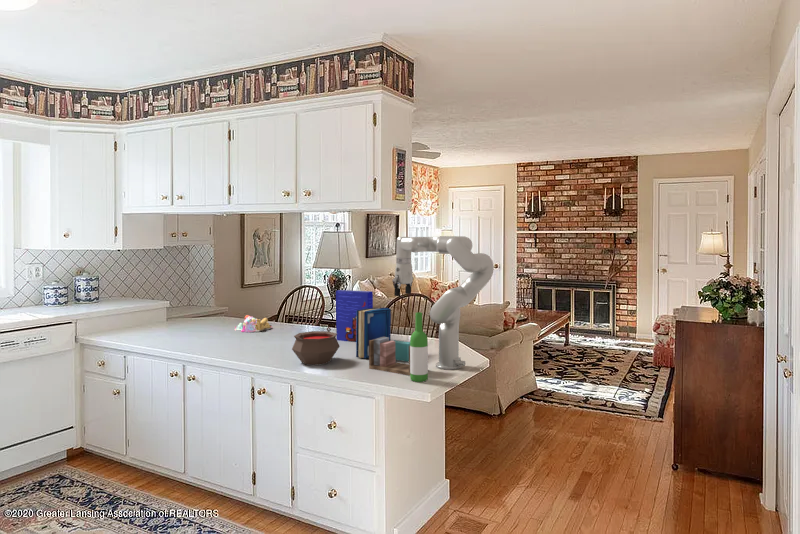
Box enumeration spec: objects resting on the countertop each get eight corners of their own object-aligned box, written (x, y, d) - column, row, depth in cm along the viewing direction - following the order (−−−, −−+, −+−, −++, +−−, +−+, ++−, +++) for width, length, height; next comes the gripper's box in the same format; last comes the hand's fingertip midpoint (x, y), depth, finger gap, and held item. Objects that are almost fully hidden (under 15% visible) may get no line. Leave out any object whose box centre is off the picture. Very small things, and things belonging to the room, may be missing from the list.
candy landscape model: (277, 327, 386) (277, 313, 386) (261, 333, 363) (261, 319, 363) (244, 326, 392) (244, 312, 392) (226, 332, 369) (226, 318, 369)
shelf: (425, 370, 266) (424, 341, 265) (411, 375, 257) (410, 345, 256) (384, 363, 280) (383, 335, 279) (369, 368, 270) (368, 339, 269)
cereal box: (373, 341, 335) (372, 291, 332) (368, 343, 329) (367, 292, 327) (341, 338, 344) (341, 289, 342) (336, 340, 339) (335, 290, 337)
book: (382, 350, 309) (382, 305, 307) (392, 352, 304) (392, 306, 303) (355, 358, 292) (354, 310, 290) (365, 359, 288) (364, 311, 286)
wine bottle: (429, 378, 252) (429, 311, 250) (426, 383, 244) (426, 314, 242) (412, 377, 253) (411, 311, 251) (408, 382, 246) (408, 313, 244)
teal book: (412, 360, 287) (412, 342, 287) (407, 361, 284) (407, 344, 283) (394, 357, 294) (394, 340, 293) (389, 358, 290) (389, 341, 289)
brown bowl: (312, 354, 301) (312, 324, 300) (349, 359, 289) (349, 327, 288) (281, 363, 281) (281, 331, 279) (320, 369, 268) (319, 335, 267)
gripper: (400, 262, 275) (399, 297, 276) (419, 260, 289) (418, 294, 291) (387, 261, 279) (386, 296, 281) (407, 259, 293) (406, 292, 295)
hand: (402, 294), depth 286 cm, fingers open, 9 cm apart
